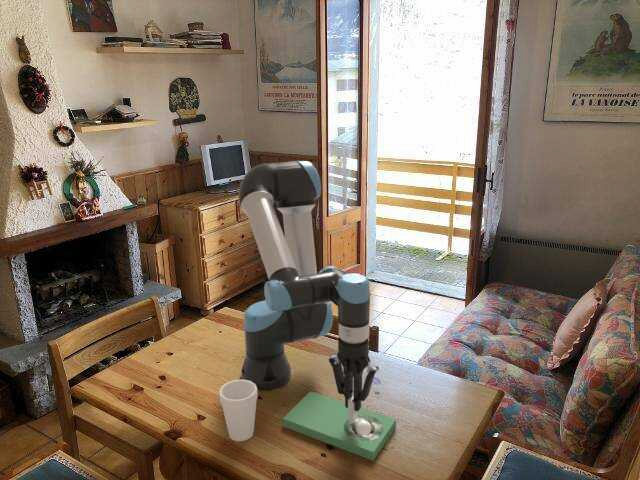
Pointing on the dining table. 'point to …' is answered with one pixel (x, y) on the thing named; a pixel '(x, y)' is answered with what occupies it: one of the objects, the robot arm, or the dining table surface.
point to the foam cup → (239, 408)
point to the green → (339, 425)
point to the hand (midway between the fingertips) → (352, 419)
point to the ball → (363, 427)
